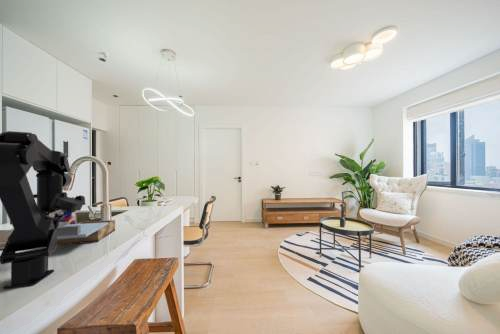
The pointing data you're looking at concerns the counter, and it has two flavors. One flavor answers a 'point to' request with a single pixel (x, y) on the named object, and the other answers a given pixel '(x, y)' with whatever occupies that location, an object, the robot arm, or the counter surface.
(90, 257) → the counter surface
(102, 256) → the counter surface
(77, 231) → the lid
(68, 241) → the box
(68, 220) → the energy drink
